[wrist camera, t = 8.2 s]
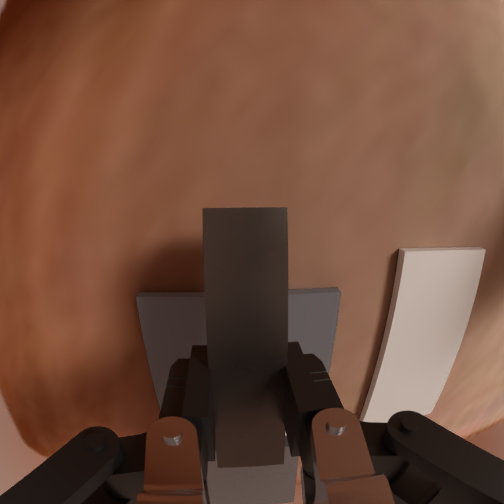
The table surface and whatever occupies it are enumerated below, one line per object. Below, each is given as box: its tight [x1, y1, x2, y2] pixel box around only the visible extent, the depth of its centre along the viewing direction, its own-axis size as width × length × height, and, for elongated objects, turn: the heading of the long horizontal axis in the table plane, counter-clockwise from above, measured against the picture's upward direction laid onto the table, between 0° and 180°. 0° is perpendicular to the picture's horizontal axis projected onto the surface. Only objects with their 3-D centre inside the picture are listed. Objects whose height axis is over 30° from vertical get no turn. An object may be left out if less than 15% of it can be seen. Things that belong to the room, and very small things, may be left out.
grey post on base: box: [203, 208, 298, 504], centre depth 10 cm, size 13×4×3 cm, turn 179°
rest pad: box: [359, 247, 486, 423], centre depth 16 cm, size 14×7×1 cm, turn 0°
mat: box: [136, 287, 341, 411], centre depth 16 cm, size 12×10×1 cm
